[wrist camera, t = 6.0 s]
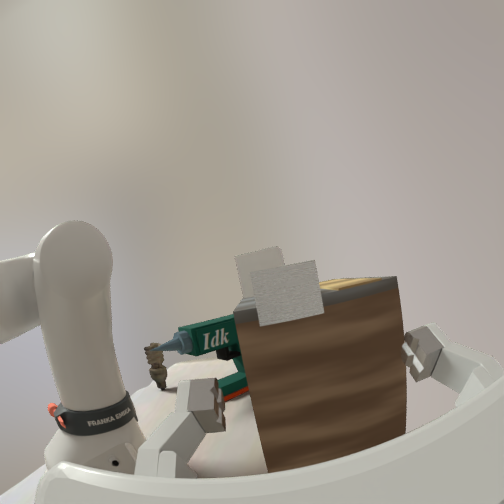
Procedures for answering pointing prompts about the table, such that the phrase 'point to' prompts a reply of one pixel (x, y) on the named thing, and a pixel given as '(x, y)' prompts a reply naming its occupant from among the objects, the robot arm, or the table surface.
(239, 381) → the power tool
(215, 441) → the table surface
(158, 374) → the brown carved figurine
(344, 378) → the stand
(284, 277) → the brushed metal bar
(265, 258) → the white cradle pedestal
